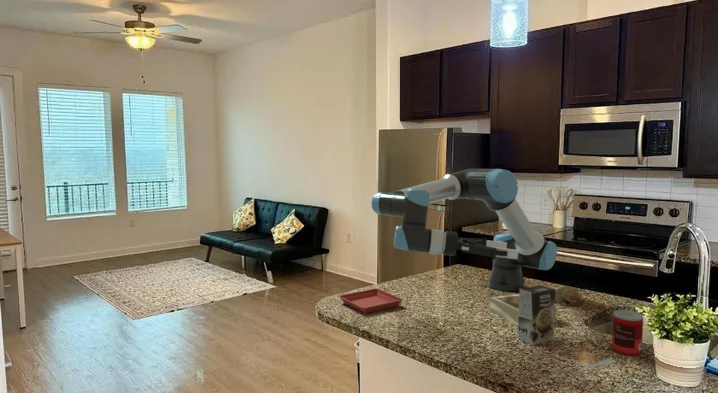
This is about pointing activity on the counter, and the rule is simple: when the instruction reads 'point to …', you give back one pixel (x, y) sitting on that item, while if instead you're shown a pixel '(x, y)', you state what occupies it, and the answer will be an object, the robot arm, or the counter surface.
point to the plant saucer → (370, 300)
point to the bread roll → (567, 296)
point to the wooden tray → (508, 307)
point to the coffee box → (536, 314)
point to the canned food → (627, 332)
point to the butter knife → (604, 362)
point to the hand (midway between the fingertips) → (511, 250)
